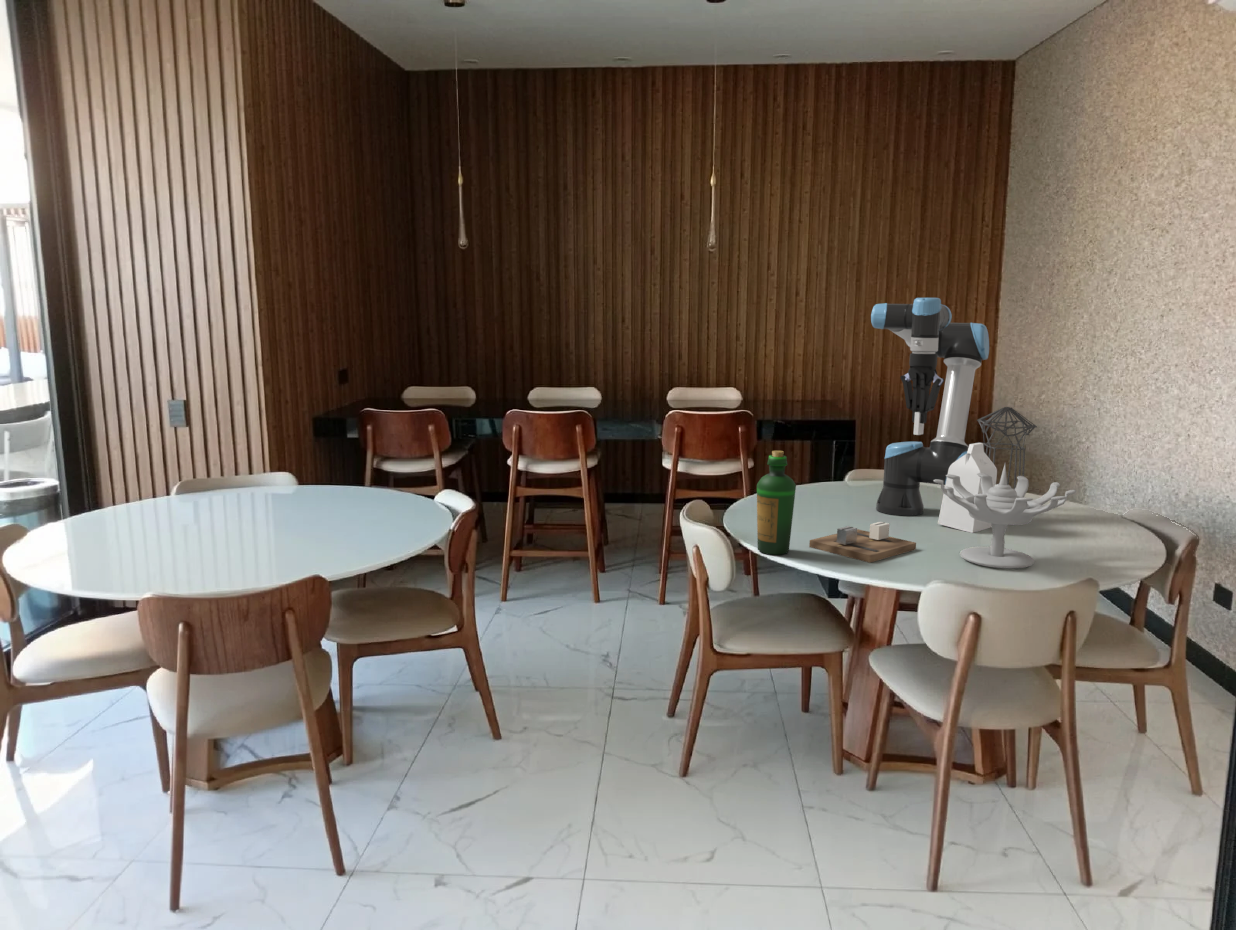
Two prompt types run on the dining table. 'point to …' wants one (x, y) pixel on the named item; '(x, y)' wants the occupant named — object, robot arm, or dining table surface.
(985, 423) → the geometric lantern
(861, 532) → the wooden board
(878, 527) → the fader
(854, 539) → the fader
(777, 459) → the bottle
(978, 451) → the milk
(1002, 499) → the candelabra
